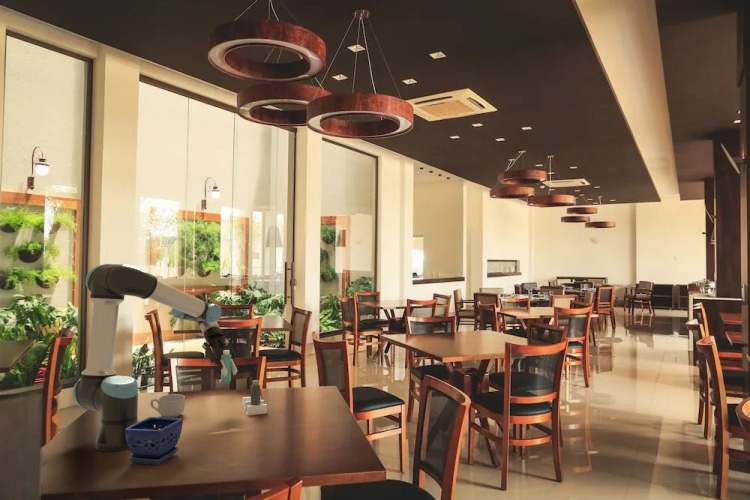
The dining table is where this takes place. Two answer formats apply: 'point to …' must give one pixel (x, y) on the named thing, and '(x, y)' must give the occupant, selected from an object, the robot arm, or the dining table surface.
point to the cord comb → (253, 406)
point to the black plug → (255, 393)
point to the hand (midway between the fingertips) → (230, 373)
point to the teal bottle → (227, 363)
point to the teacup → (169, 405)
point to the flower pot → (153, 439)
